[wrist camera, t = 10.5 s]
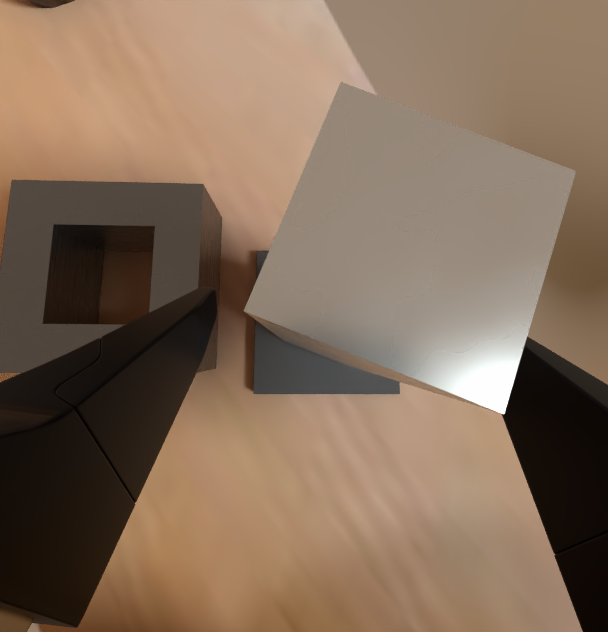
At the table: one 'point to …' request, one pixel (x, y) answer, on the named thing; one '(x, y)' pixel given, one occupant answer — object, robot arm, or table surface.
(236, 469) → the table surface
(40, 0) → the bolt
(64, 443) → the robot arm
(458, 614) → the table surface
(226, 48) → the table surface
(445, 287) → the steel peg
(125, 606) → the table surface
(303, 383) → the rubber mat
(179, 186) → the socket block
